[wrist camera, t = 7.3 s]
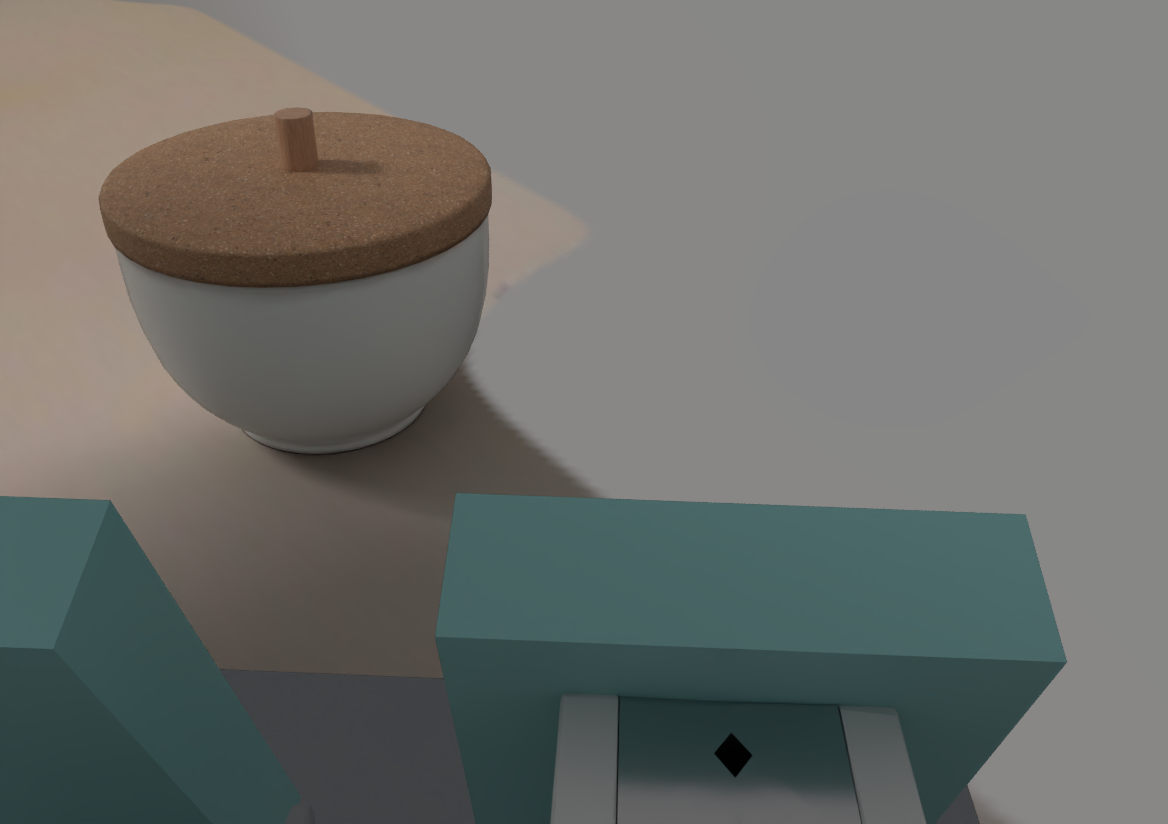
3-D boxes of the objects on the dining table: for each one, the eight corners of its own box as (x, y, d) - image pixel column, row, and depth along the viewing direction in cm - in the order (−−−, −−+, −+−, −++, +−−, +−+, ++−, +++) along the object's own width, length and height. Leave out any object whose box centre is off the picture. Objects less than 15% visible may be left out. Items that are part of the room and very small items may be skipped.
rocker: (-68, 890, 15) (-591, 623, 8) (-29, 792, 16) (-473, 477, 9) (302, 906, 15) (77, 649, 8) (322, 808, 16) (134, 501, 9)
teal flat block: (482, 916, 15) (409, 636, 8) (492, 817, 16) (433, 491, 9) (859, 933, 15) (1092, 663, 8) (847, 832, 16) (1048, 514, 9)
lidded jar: (273, 300, 39) (230, 46, 34) (542, 347, 37) (541, 79, 31) (81, 462, 30) (-16, 154, 25) (415, 536, 28) (385, 212, 23)
